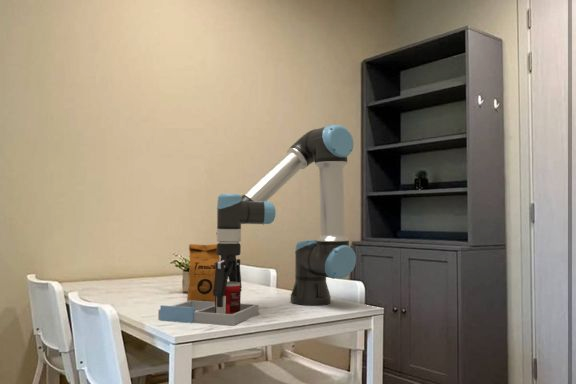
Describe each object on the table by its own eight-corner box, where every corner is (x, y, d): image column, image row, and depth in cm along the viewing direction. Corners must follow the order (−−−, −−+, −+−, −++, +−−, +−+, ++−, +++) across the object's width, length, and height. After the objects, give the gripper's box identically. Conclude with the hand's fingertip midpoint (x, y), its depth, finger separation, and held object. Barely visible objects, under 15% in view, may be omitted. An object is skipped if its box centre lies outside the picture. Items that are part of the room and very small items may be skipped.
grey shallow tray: (258, 314, 170) (258, 300, 171) (232, 326, 151) (232, 310, 151) (189, 309, 178) (190, 296, 178) (157, 320, 158) (157, 305, 159)
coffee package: (221, 308, 181) (222, 244, 182) (185, 308, 180) (186, 244, 181) (222, 303, 191) (223, 243, 192) (188, 303, 190) (189, 243, 191)
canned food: (215, 315, 166) (215, 281, 167) (240, 315, 167) (240, 281, 168) (213, 320, 159) (214, 284, 159) (240, 320, 159) (240, 284, 160)
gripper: (231, 241, 176) (230, 308, 174) (202, 243, 155) (200, 320, 154) (252, 241, 173) (251, 310, 172) (225, 244, 153) (223, 322, 151)
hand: (227, 314), depth 163 cm, fingers open, 9 cm apart
